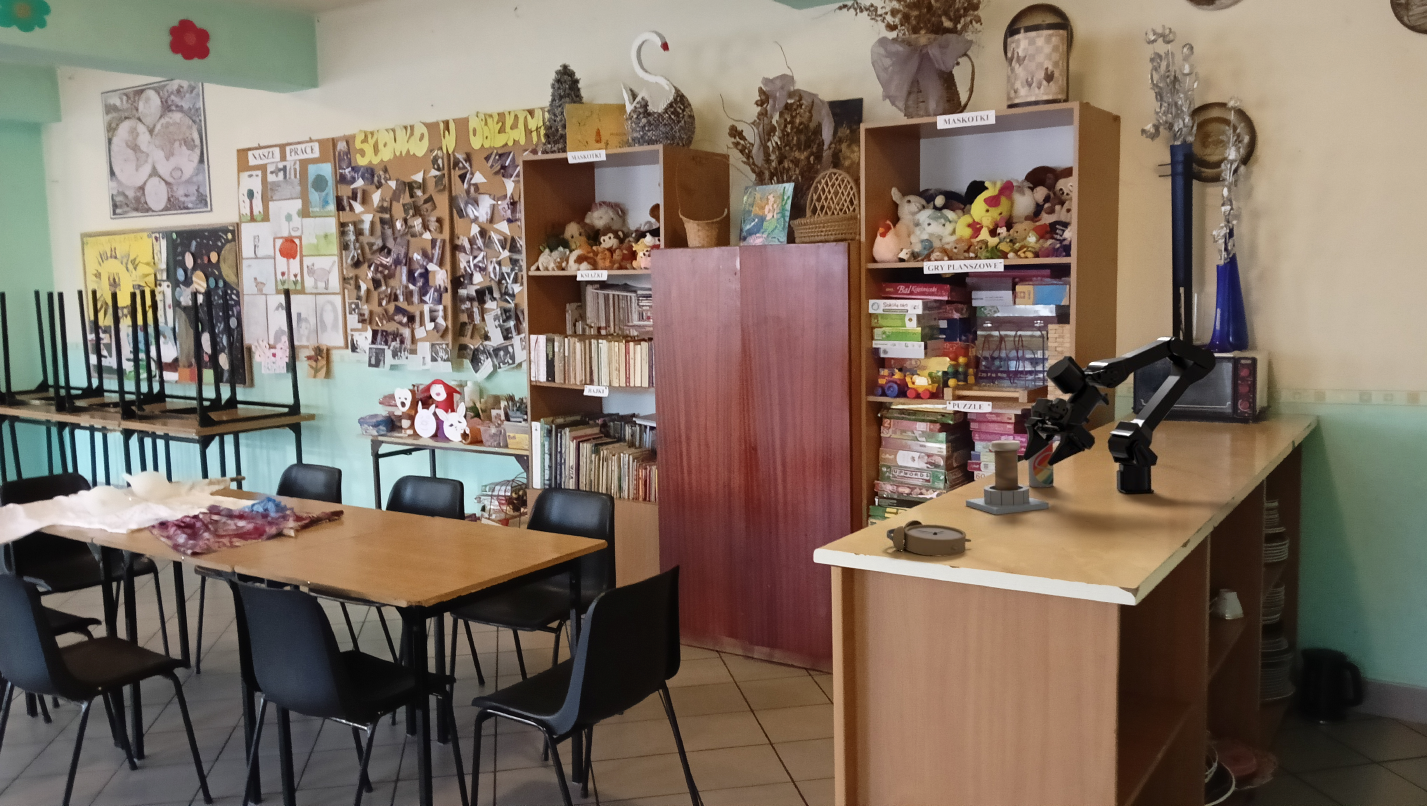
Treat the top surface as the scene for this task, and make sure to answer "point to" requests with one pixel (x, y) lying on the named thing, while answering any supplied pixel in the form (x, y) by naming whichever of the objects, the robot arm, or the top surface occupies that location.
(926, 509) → the top surface
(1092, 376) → the robot arm
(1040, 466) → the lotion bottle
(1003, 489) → the walnut peg
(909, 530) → the alarm clock
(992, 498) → the collar socket
